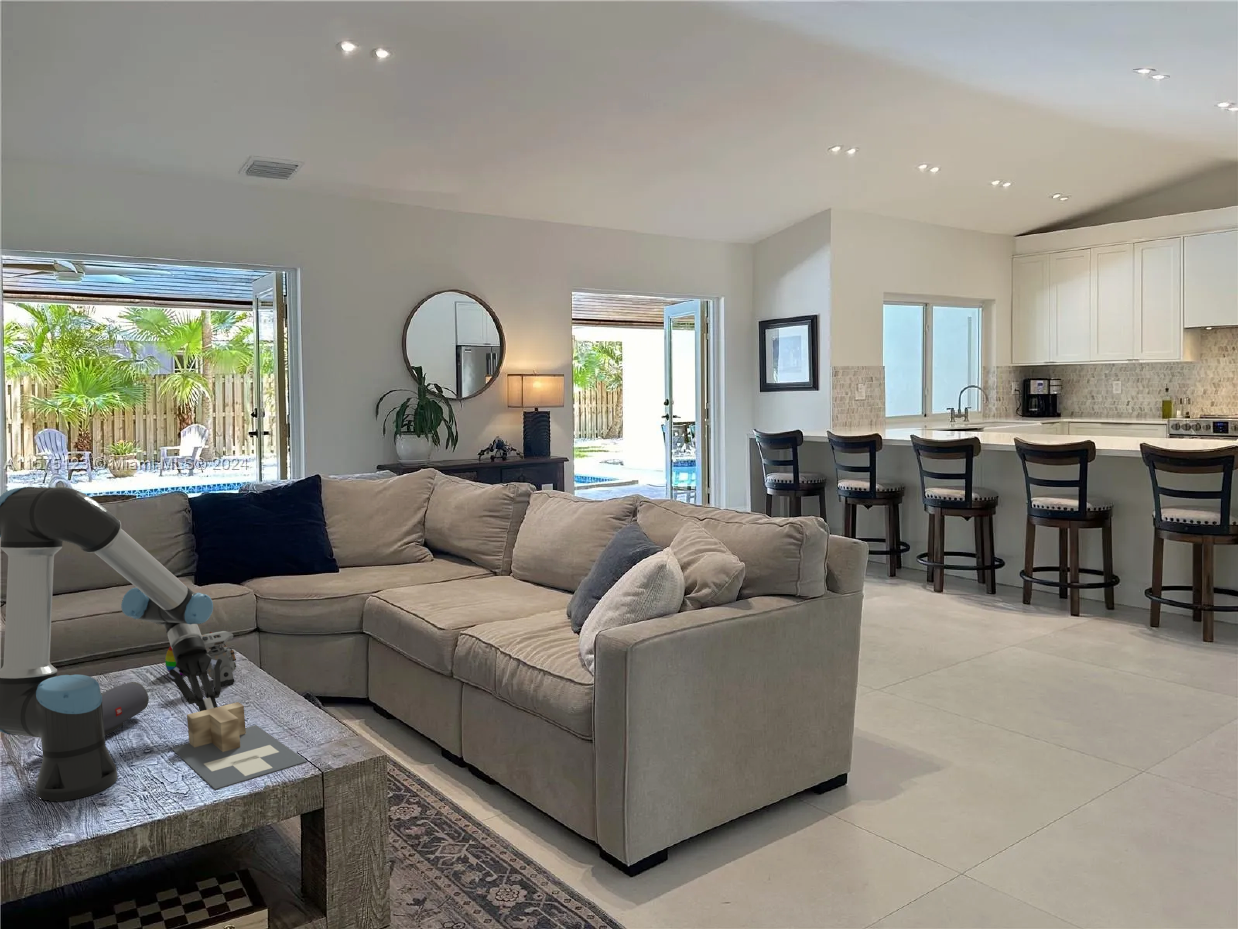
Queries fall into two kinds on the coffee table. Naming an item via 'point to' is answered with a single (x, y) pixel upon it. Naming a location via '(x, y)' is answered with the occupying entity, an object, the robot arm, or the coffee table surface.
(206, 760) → the mat
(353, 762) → the coffee table surface
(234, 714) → the t block
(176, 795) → the coffee table surface
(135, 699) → the bluetooth speaker
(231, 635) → the figurine
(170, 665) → the decorative egg
